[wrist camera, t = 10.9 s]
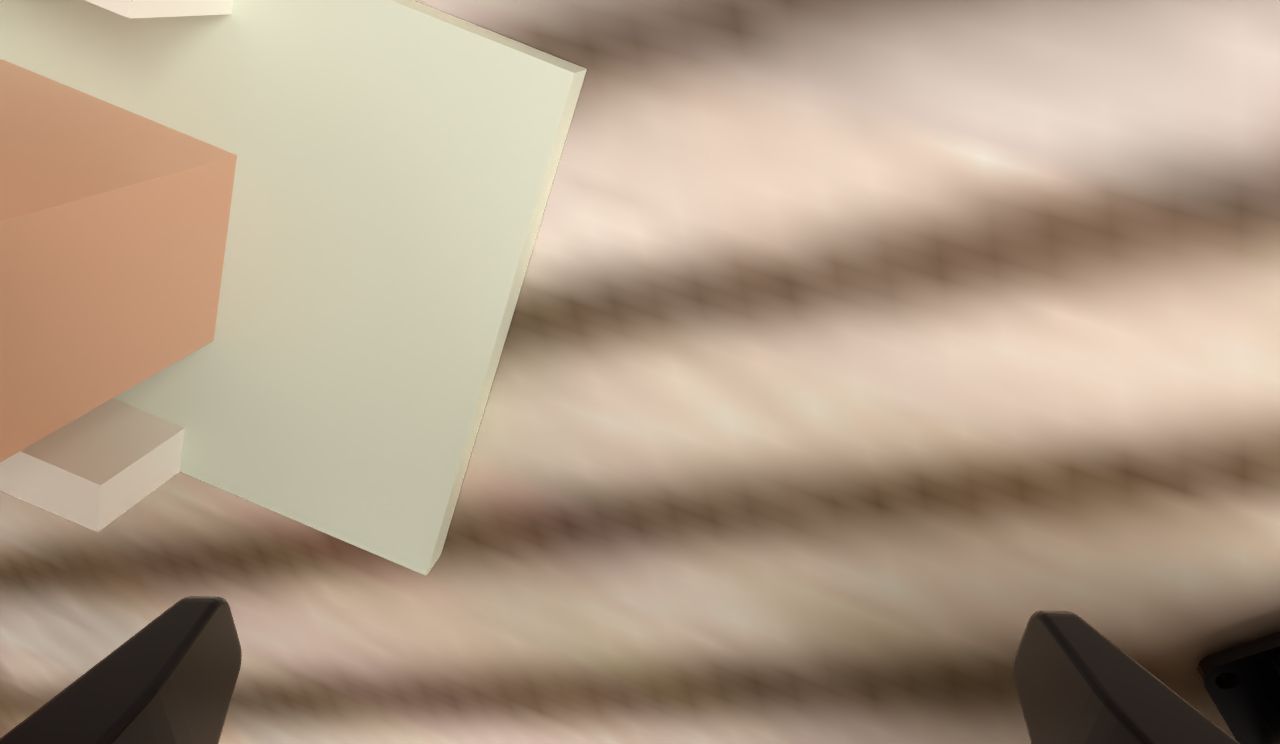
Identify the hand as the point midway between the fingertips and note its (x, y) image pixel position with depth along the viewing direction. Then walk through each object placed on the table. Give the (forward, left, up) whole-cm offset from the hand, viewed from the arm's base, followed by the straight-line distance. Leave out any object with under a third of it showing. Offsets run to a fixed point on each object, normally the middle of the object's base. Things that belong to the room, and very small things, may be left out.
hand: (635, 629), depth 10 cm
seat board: (+9, +10, -11) cm, 18 cm away
